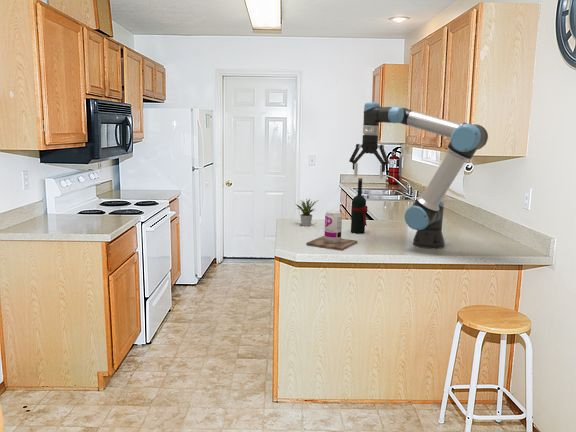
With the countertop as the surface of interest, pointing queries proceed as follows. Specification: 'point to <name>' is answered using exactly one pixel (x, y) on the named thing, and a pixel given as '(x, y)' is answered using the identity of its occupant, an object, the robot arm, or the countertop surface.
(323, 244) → the walnut board
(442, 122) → the robot arm
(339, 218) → the supplement can
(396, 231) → the countertop surface
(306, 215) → the house plant
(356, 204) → the wine bottle
